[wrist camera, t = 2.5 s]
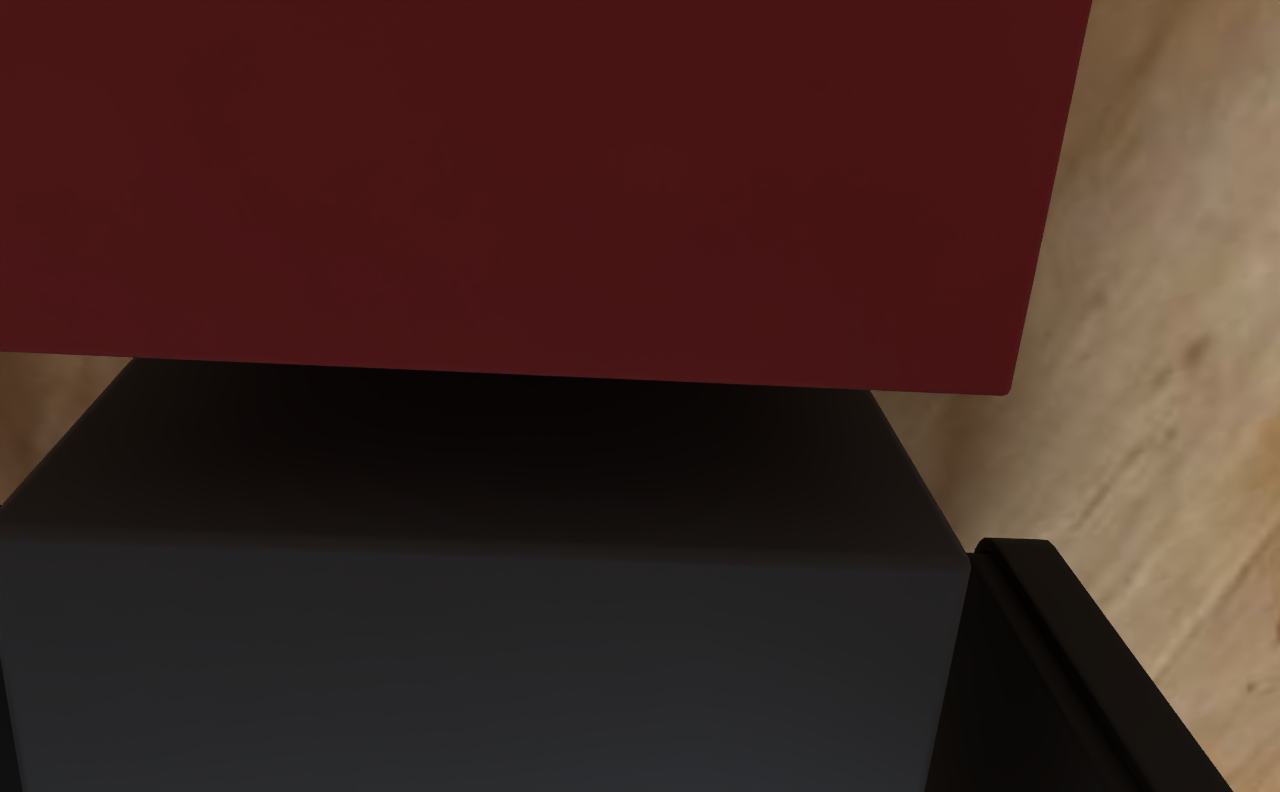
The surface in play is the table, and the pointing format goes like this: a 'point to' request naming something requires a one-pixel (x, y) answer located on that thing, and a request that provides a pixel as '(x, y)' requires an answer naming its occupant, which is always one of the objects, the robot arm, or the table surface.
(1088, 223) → the table surface
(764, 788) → the dark grey block
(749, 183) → the dark red block
